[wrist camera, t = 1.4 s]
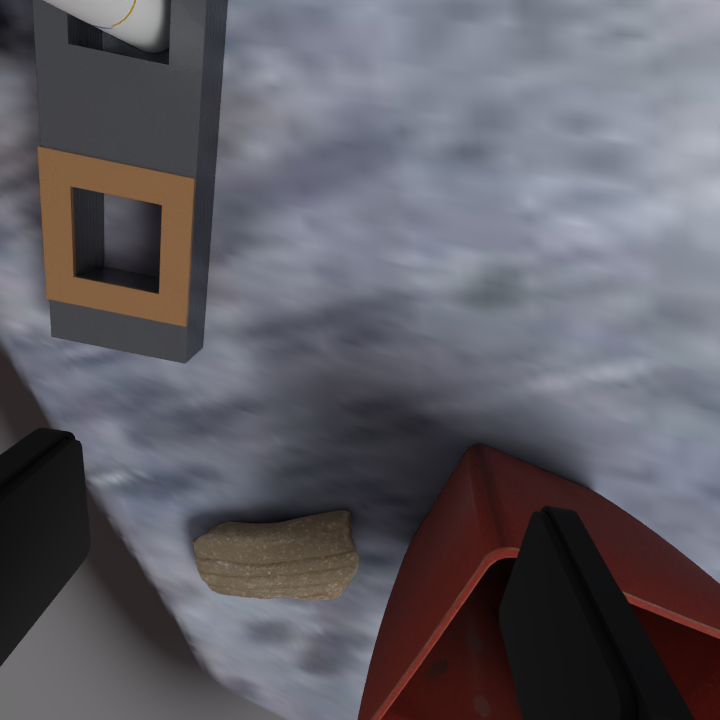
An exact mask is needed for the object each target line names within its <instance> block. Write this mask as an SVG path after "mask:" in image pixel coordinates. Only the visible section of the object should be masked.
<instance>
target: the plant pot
mask: <svg viewBox="0 0 720 720" xmlns="http://www.w3.org/2000/svg"><path fill="white" fill-rule="evenodd" d="M544 506H553V507H559V508H566V509H572V510H574V511H576V512H577V514H578V515H579V517H580V519H581V520H582V522H583V524H584V526H585V528H586V529H587V531H588V533H589V535H590V536H591V538H592V540H593V542H594V544H595V545H596V547H597V549H598V551H599V552H600V554H601V556H602V558H603V560H604V561H605V563H606V565H607V567H608V569H609V570H610V572H611V574H612V576H613V577H614V579H615V581H616V583H617V585H618V586H619V588H620V590H621V591H622V592H623V594H624V595H625V596H626V598H627V600H628V602H629V604H630V605H631V607H632V609H633V611H634V612H635V614H636V616H637V618H638V619H639V621H640V623H641V625H642V627H643V628H644V630H645V632H646V634H647V635H648V637H649V639H650V641H651V642H652V644H653V646H654V648H655V650H656V651H657V653H658V655H659V657H660V658H661V660H662V662H663V664H664V666H665V667H666V669H667V671H668V673H669V674H670V676H671V678H672V680H673V681H674V683H675V685H676V687H677V689H678V690H679V692H680V694H681V696H682V697H683V699H684V701H685V703H686V705H687V706H688V708H689V710H690V712H691V713H692V715H693V717H694V719H695V720H720V584H719V583H718V582H717V581H715V580H714V579H713V578H712V577H711V576H710V575H708V574H707V573H706V572H705V571H704V570H702V569H701V568H700V567H699V566H698V565H696V564H695V563H694V562H693V561H691V560H690V559H689V558H688V557H686V556H685V555H684V554H683V553H681V552H680V551H679V550H677V549H676V548H675V547H674V546H672V545H671V544H670V543H668V542H667V541H666V540H664V539H663V538H662V537H661V536H659V535H658V534H657V533H655V532H654V531H652V530H651V529H650V528H648V527H647V526H646V525H644V524H643V523H641V522H640V521H639V520H637V519H636V518H634V517H633V516H631V515H630V514H629V513H627V512H626V511H624V510H623V509H621V508H620V507H618V506H617V505H615V504H614V503H612V502H611V501H609V500H607V499H606V498H604V497H603V496H601V495H599V494H598V493H596V492H594V491H592V490H590V489H587V488H585V487H582V486H580V485H578V484H575V483H573V482H571V481H569V480H566V479H564V478H561V477H559V476H557V475H554V474H552V473H550V472H547V471H545V470H542V469H540V468H538V467H535V466H533V465H531V464H528V463H526V462H523V461H521V460H519V459H516V458H514V457H512V456H509V455H507V454H505V453H502V452H500V451H497V450H495V449H493V448H490V447H488V446H486V445H482V444H478V445H473V446H472V447H470V448H469V449H468V450H467V451H466V453H465V454H464V456H463V457H462V459H461V460H460V462H459V464H458V465H457V467H456V469H455V470H454V472H453V473H452V475H451V477H450V478H449V480H448V482H447V483H446V485H445V487H444V488H443V490H442V491H441V493H440V495H439V496H438V498H437V500H436V501H435V503H434V504H433V506H432V508H431V509H430V511H429V512H428V514H427V516H426V517H425V519H424V520H423V522H422V524H421V525H420V527H419V529H418V530H417V532H416V533H415V535H414V537H413V538H412V540H411V543H410V545H409V547H408V549H407V552H406V554H405V556H404V559H403V562H402V564H401V567H400V570H399V572H398V575H397V578H396V580H395V583H394V586H393V589H392V592H391V595H390V597H389V600H388V603H387V606H386V610H385V613H384V616H383V619H382V622H381V626H380V629H379V633H378V636H377V640H376V643H375V647H374V651H373V654H372V658H371V662H370V666H369V670H368V674H367V679H366V683H365V687H364V692H363V696H362V701H361V705H360V710H359V715H358V720H523V717H522V713H521V709H520V705H519V701H518V697H517V693H516V689H515V685H514V681H513V677H512V673H511V669H510V664H509V660H508V656H507V652H506V648H505V644H504V640H503V636H502V632H501V628H500V623H499V609H500V604H501V602H502V599H503V596H504V593H505V590H506V587H507V584H508V581H509V578H510V576H511V573H512V570H513V567H514V564H515V561H516V558H517V555H518V552H519V550H520V547H521V544H522V541H523V538H524V535H525V532H526V529H527V527H528V524H529V521H530V518H531V516H532V514H533V512H535V511H538V512H540V511H541V509H542V508H543V507H544Z"/></svg>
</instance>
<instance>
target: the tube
mask: <svg viewBox="0 0 720 720" xmlns="http://www.w3.org/2000/svg"><path fill="white" fill-rule="evenodd" d="M43 1H45V2H47V3H49V4H51V5H53V6H55V7H57V8H59V9H61V10H63V11H65V12H67V13H69V14H71V15H73V16H75V17H77V18H79V19H81V20H83V21H85V22H87V23H89V24H91V25H93V26H95V27H97V28H99V29H101V30H103V31H105V32H107V33H109V34H110V35H112V36H114V37H116V38H118V39H120V40H122V41H124V42H126V43H128V44H130V45H132V46H134V47H136V48H138V49H140V50H142V51H145V52H149V53H157V52H161V51H164V50H166V49H167V48H169V47H170V18H171V0H43Z"/></svg>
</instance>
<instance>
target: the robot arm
mask: <svg viewBox="0 0 720 720" xmlns="http://www.w3.org/2000/svg"><path fill="white" fill-rule="evenodd" d="M89 549H90V530H89V519H88V508H87V497H86V485H85V474H84V463H83V452H82V445H81V443H80V441H78V440H75V436H74V435H73V433H71V432H68V431H61V430H55V429H48V428H38V429H37V430H34V431H33V432H32V433H30V434H29V435H27V436H26V437H25V438H23V439H22V440H21V441H19V442H18V443H16V444H15V445H14V446H13V447H11V448H10V449H8V450H7V451H5V452H4V453H2V454H1V455H0V666H1V665H2V664H3V662H4V661H5V660H6V659H7V658H8V656H9V655H10V654H11V653H12V651H13V650H14V649H15V648H16V646H17V645H18V643H19V642H20V641H21V640H22V639H23V637H24V636H25V635H26V634H27V632H28V631H29V630H30V628H31V627H32V626H33V625H34V623H35V622H36V621H37V620H38V618H39V617H40V616H41V615H42V613H43V612H44V611H45V610H46V608H47V607H48V606H49V605H50V603H51V602H52V600H53V599H54V598H55V597H56V596H57V594H58V593H59V592H60V591H61V589H62V588H63V587H64V585H65V584H66V583H67V582H68V580H69V579H70V578H71V577H72V575H73V574H74V573H75V572H76V570H77V569H78V568H79V567H80V565H81V564H82V563H83V561H84V560H85V558H86V557H87V554H88V552H89ZM499 623H500V628H501V632H502V636H503V640H504V644H505V648H506V652H507V656H508V660H509V664H510V669H511V673H512V677H513V681H514V685H515V689H516V693H517V697H518V701H519V705H520V709H521V713H522V717H523V720H695V719H694V717H693V715H692V713H691V712H690V710H689V708H688V706H687V705H686V703H685V701H684V699H683V697H682V696H681V694H680V692H679V690H678V689H677V687H676V685H675V683H674V681H673V680H672V678H671V676H670V674H669V673H668V671H667V669H666V667H665V666H664V664H663V662H662V660H661V658H660V657H659V655H658V653H657V651H656V650H655V648H654V646H653V644H652V642H651V641H650V639H649V637H648V635H647V634H646V632H645V630H644V628H643V627H642V625H641V623H640V621H639V619H638V618H637V616H636V614H635V612H634V611H633V609H632V607H631V605H630V604H629V602H628V600H627V598H626V596H625V595H624V594H623V592H622V591H621V590H620V588H619V586H618V585H617V583H616V581H615V579H614V577H613V576H612V574H611V572H610V570H609V569H608V567H607V565H606V563H605V561H604V560H603V558H602V556H601V554H600V552H599V551H598V549H597V547H596V545H595V544H594V542H593V540H592V538H591V536H590V535H589V533H588V531H587V529H586V528H585V526H584V524H583V522H582V520H581V519H580V517H579V515H578V514H577V512H576V511H574V510H572V509H566V508H559V507H553V506H544V507H543V508H542V509H541V511H540V512H538V511H535V512H533V514H532V516H531V518H530V521H529V524H528V527H527V529H526V532H525V535H524V538H523V541H522V544H521V547H520V550H519V552H518V555H517V558H516V561H515V564H514V567H513V570H512V573H511V576H510V578H509V581H508V584H507V587H506V590H505V593H504V596H503V599H502V602H501V604H500V609H499Z"/></svg>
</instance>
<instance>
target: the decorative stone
mask: <svg viewBox="0 0 720 720" xmlns="http://www.w3.org/2000/svg"><path fill="white" fill-rule="evenodd" d="M192 544H193V547H194V552H195V554H196V565H197V568H198V572H199V574H200V576H201V578H202V580H203V581H205V582H206V583H207V585H208V586H209V588H210V589H211V590H212V591H215V592H216V593H219V594H224V595H231V596H240V597H248V598H252V597H253V598H260V599H271V598H294V599H301V600H320V599H324V600H331V599H335V598H337V597H339V596H340V595H341V594H342V593H343V591H344V589H345V588H346V586H347V585H348V583H349V582H350V581H351V580H352V578H353V577H354V575H355V574H356V572H357V569H358V565H359V555H358V552H357V549H356V547H355V544H354V542H353V538H352V528H351V513H350V512H349V511H344V510H337V511H332V512H326V513H321V514H315V515H310V516H305V517H301V518H296V519H292V520H288V521H283V522H279V523H259V524H253V523H240V522H229V521H227V522H225V523H223V524H219V525H216V526H215V527H213V528H211V529H210V530H209V531H208V532H207V534H205V535H202V536H201V537H199V538H195V539H193V541H192Z"/></svg>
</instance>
